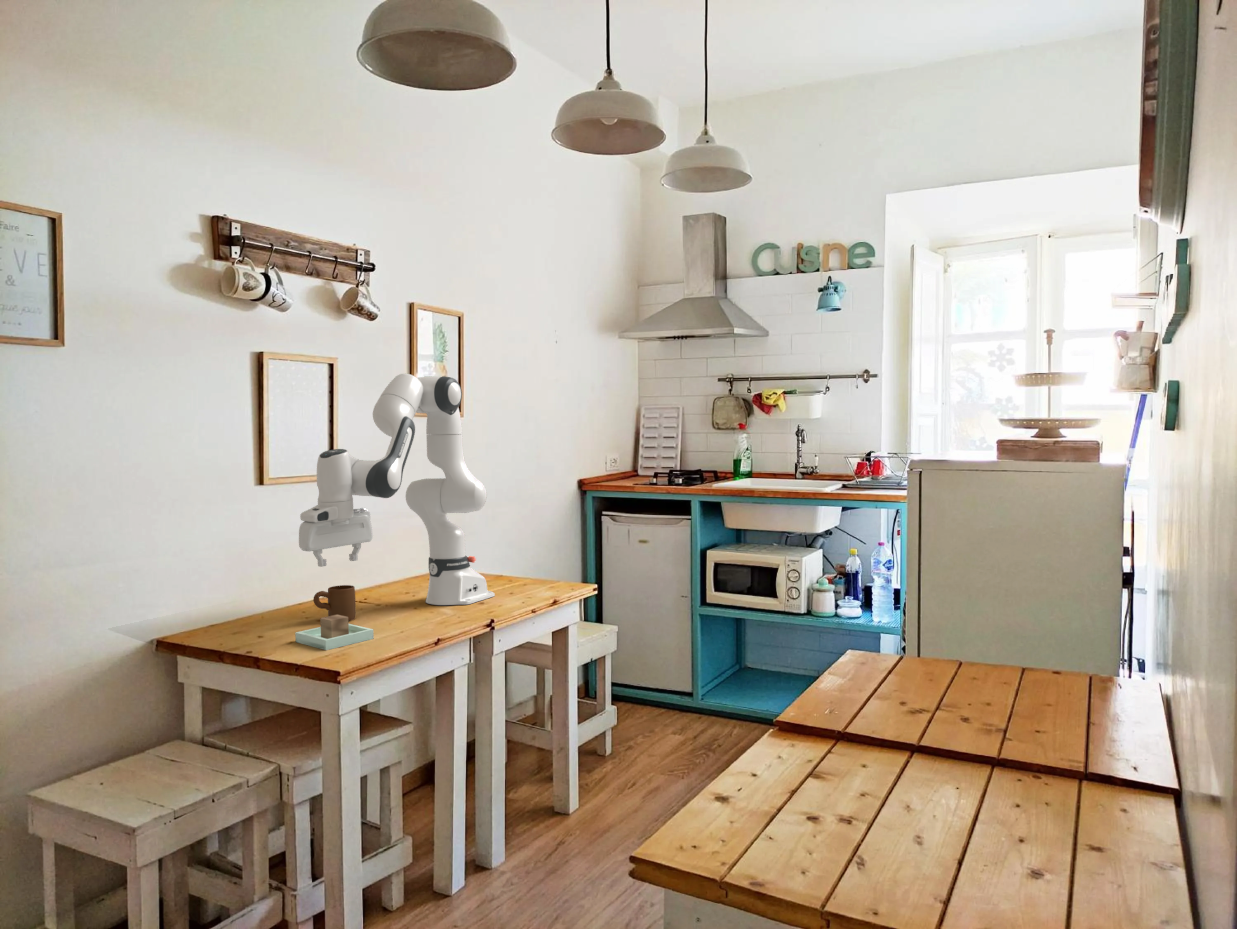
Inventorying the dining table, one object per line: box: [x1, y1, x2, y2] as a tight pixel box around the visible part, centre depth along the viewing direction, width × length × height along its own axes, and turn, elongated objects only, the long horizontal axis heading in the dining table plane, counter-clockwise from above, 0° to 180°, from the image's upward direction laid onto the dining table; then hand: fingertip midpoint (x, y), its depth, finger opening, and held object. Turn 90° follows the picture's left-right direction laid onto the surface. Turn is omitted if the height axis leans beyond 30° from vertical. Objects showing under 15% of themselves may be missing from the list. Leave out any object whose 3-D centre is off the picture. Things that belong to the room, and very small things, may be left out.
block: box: [320, 615, 350, 639], centre depth 224 cm, size 5×5×5 cm
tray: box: [294, 623, 375, 651], centre depth 224 cm, size 14×14×2 cm
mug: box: [313, 584, 357, 622], centre depth 246 cm, size 12×8×9 cm, turn 132°
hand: (338, 563), depth 226 cm, fingers open, 8 cm apart
